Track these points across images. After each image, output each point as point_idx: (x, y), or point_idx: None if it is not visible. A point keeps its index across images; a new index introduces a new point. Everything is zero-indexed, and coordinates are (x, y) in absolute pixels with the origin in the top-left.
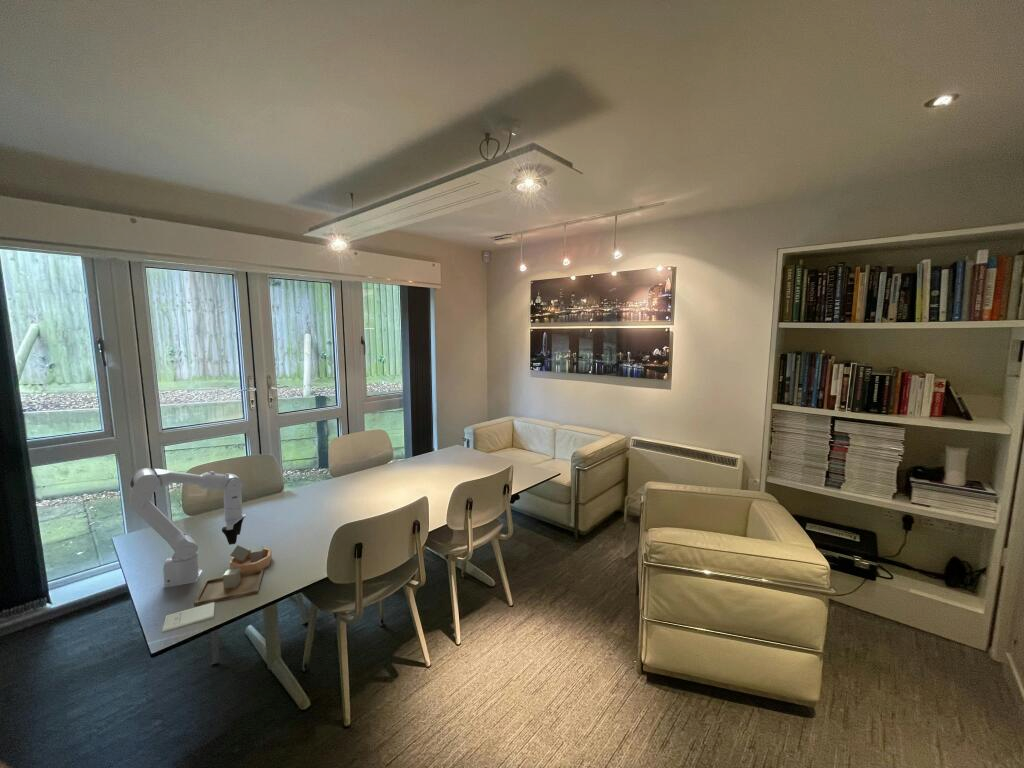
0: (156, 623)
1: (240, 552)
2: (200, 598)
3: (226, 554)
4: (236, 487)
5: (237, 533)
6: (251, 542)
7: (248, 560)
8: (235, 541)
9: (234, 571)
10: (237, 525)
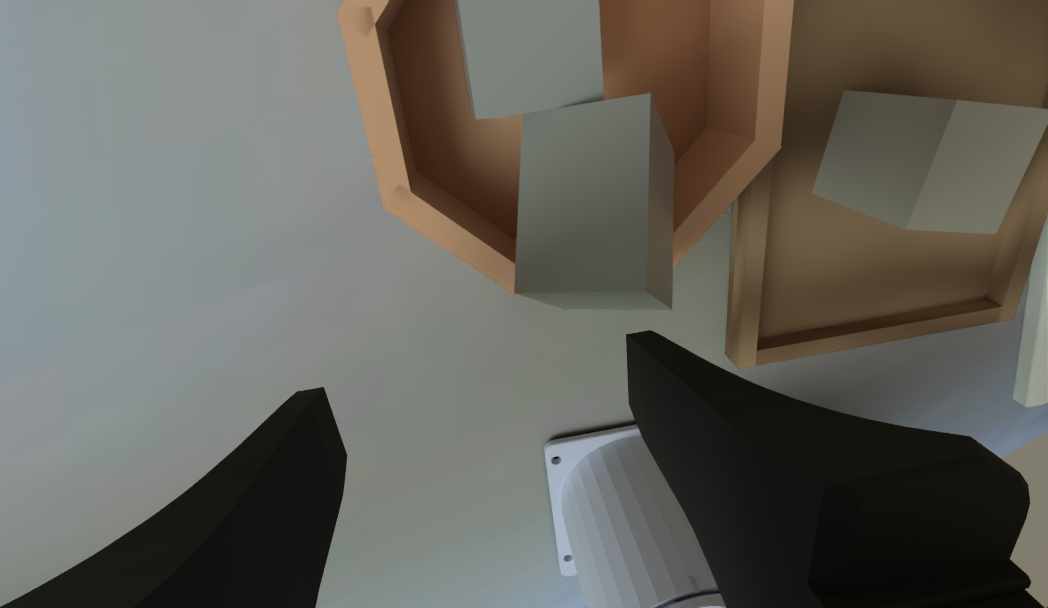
0: (1036, 418)
1: (659, 212)
2: (935, 305)
3: (290, 386)
4: None
5: (327, 426)
6: (15, 251)
7: (465, 143)
8: (671, 345)
9: (984, 144)
10: (271, 549)
